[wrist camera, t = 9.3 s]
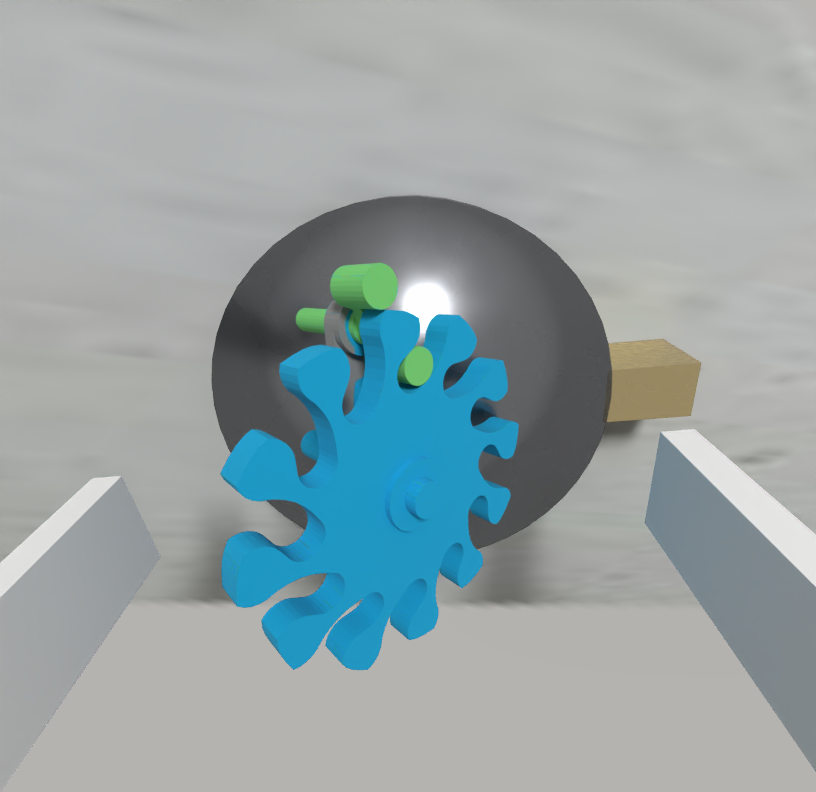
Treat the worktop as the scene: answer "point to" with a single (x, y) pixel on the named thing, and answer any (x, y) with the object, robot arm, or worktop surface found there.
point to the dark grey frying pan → (496, 339)
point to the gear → (370, 474)
